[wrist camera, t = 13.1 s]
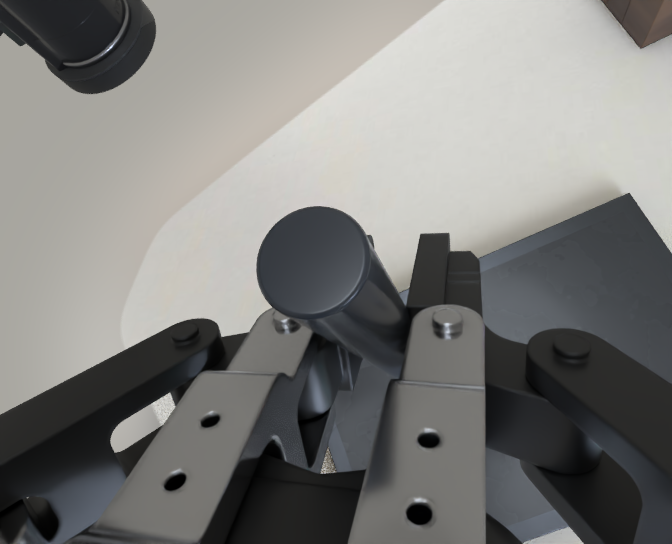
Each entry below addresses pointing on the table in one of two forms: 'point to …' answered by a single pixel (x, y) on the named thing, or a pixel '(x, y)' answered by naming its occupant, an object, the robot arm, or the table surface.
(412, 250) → the table surface
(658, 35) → the pen stand
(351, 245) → the stylus
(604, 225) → the tablet
